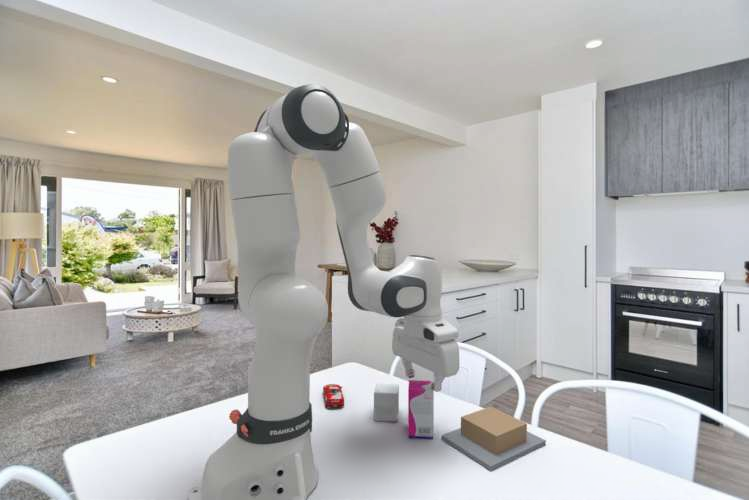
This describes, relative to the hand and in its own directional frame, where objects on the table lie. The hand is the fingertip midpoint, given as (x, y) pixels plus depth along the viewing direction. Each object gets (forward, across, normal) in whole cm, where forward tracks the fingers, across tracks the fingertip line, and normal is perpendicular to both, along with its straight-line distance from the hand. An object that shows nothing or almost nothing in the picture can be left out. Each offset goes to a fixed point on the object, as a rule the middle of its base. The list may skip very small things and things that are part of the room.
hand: (422, 383), depth 91 cm
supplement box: (+12, 0, -1) cm, 12 cm away
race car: (+12, -27, -10) cm, 31 cm away
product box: (+12, -11, -3) cm, 16 cm away
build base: (+12, +12, +10) cm, 20 cm away
